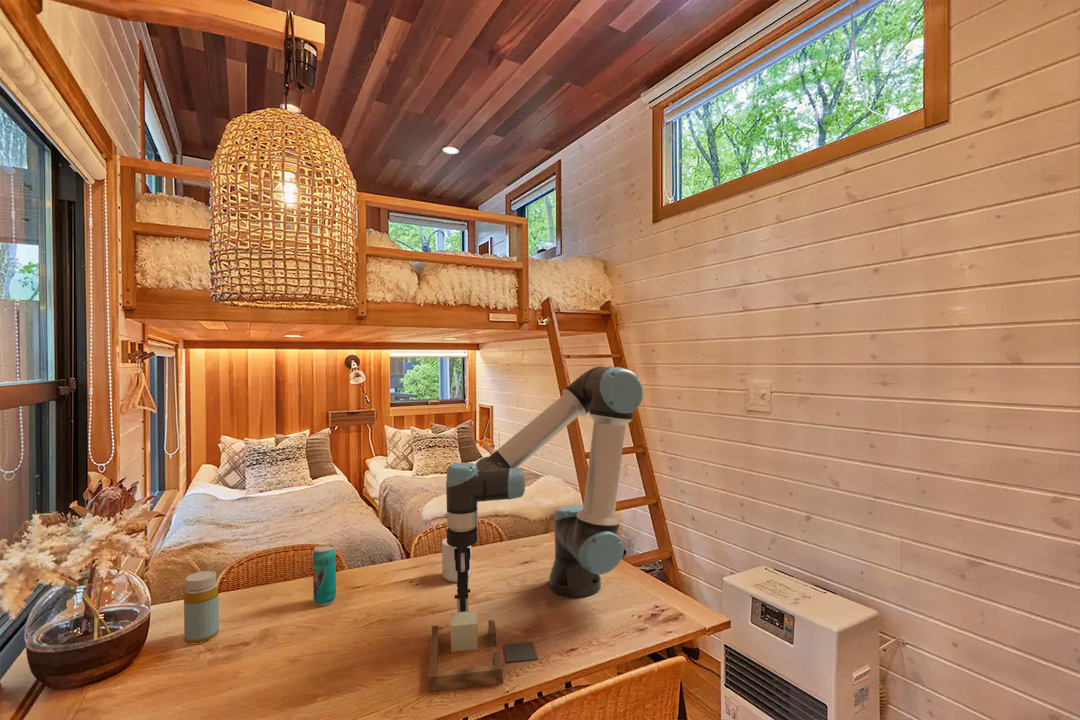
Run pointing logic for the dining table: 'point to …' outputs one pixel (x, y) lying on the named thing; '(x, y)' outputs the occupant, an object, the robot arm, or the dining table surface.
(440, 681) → the channel
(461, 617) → the block
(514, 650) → the plate
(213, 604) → the bottle
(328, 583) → the beverage can
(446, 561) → the mug
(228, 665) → the dining table surface
